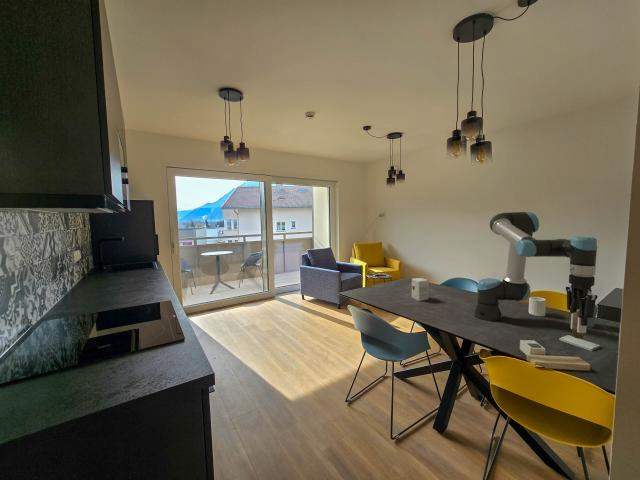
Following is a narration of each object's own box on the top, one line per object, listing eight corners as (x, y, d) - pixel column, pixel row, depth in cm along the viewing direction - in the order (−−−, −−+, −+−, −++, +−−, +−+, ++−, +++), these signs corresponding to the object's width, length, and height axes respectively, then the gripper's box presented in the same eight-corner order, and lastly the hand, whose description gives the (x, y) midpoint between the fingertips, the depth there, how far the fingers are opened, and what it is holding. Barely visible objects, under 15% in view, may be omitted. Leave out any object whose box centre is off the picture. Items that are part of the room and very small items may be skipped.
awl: (570, 335, 114) (571, 308, 113) (579, 335, 114) (580, 308, 113) (576, 338, 111) (577, 311, 110) (585, 339, 110) (587, 311, 109)
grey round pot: (578, 319, 159) (579, 300, 158) (601, 326, 150) (602, 305, 149) (567, 322, 156) (569, 302, 155) (590, 329, 146) (592, 308, 145)
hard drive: (600, 345, 128) (568, 334, 139) (591, 349, 125) (559, 337, 136) (600, 348, 128) (568, 337, 140) (591, 352, 125) (559, 341, 136)
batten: (526, 359, 119) (526, 354, 119) (578, 362, 116) (578, 357, 116) (534, 367, 113) (535, 361, 113) (589, 370, 110) (590, 364, 110)
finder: (519, 349, 128) (520, 339, 128) (533, 349, 127) (534, 339, 127) (529, 357, 120) (530, 347, 120) (545, 358, 119) (545, 348, 119)
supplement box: (411, 297, 210) (411, 278, 208) (420, 296, 212) (421, 277, 211) (418, 301, 201) (418, 281, 199) (428, 299, 204) (429, 280, 202)
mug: (551, 313, 170) (552, 298, 169) (540, 317, 165) (541, 301, 164) (537, 309, 177) (537, 295, 176) (525, 312, 172) (526, 297, 171)
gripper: (557, 270, 118) (554, 322, 120) (586, 279, 103) (582, 339, 105) (577, 270, 117) (573, 323, 119) (609, 279, 101) (605, 339, 104)
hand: (578, 330), depth 112 cm, fingers closed on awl, 3 cm apart
